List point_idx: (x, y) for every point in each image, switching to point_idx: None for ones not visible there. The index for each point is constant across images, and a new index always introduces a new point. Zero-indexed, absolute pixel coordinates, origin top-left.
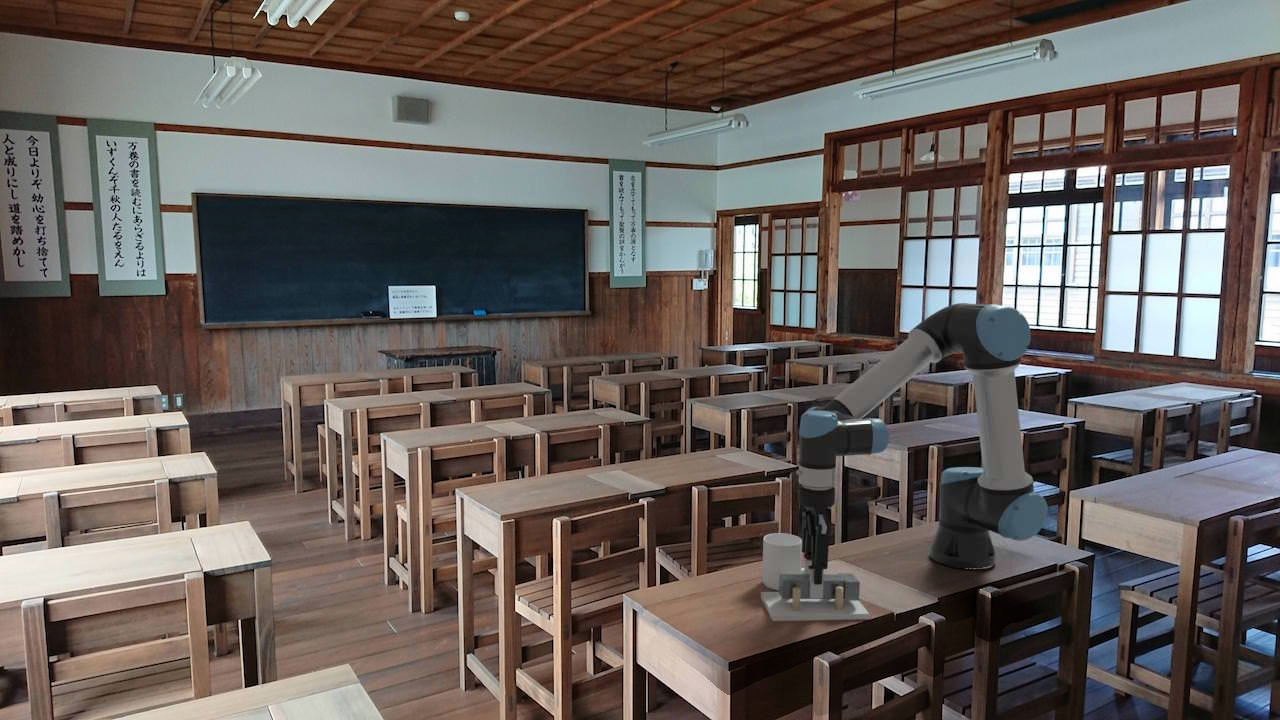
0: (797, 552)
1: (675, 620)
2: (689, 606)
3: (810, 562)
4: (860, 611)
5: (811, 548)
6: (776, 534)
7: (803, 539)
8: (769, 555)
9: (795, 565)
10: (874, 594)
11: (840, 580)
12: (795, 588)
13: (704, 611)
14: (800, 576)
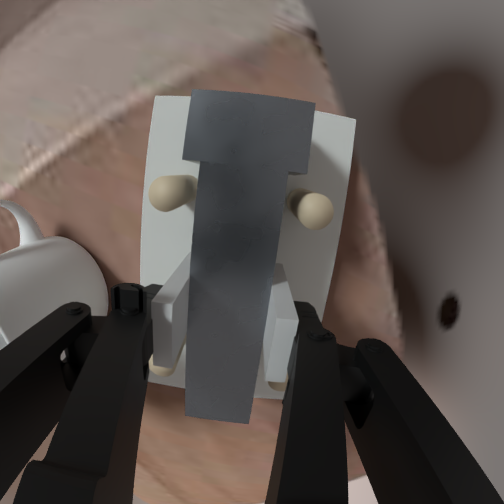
0: (25, 313)
1: (251, 498)
2: (195, 479)
3: (175, 342)
4: (335, 138)
5: (273, 464)
6: None
7: (60, 414)
8: None
9: (60, 300)
10: (167, 27)
11: (282, 192)
12: (280, 383)
13: (220, 470)
14: (211, 359)
